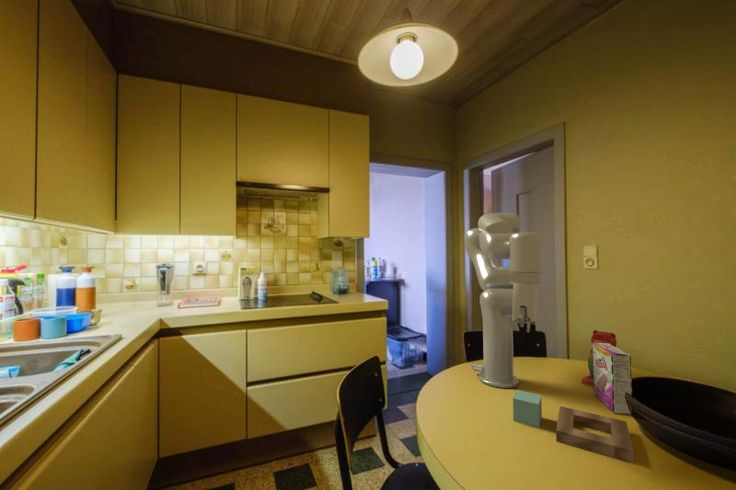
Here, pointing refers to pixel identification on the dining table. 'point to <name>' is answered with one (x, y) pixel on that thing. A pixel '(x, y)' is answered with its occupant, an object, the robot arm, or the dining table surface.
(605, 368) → the candy bar box
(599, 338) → the stacking bear
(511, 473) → the dining table surface
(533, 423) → the teal cube
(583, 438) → the walnut puzzle board
